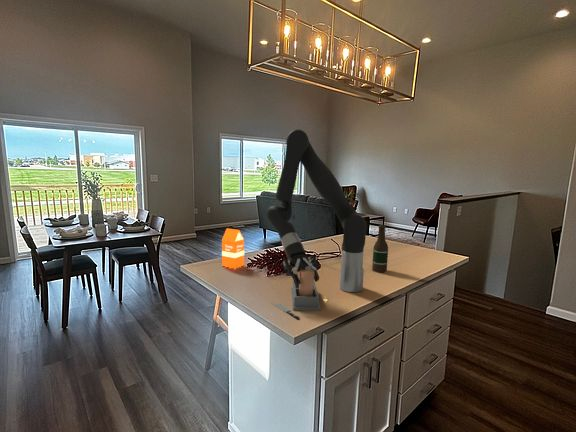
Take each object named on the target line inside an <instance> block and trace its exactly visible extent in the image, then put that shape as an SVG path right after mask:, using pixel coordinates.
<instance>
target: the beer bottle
mask: <svg viewBox="0 0 576 432" xmlns="http://www.w3.org/2000/svg"><path fill="white" fill-rule="evenodd" d="M386 228H387V227H386V225H385V224H383V225H382V224H379V225H378V234H377V240H376V241H375V242H374V245H373V250H372V264H371V269H372V271H373V272H374V273H379V274H384V273H386V272H387V269H388V257H389V256H388V255H389V246H388V245H389V244H388V242H387V241H386Z"/></svg>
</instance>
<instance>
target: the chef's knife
mask: <svg viewBox="0 0 576 432" xmlns="http://www.w3.org/2000/svg"><path fill="white" fill-rule="evenodd" d="M271 304H272V305H274V306H275V307H277V308H278V310H282V311H283V312H284V313H286V314H287V315H289V316H291V317H292V318H295V319H296V320H300V317H299V316H298V315H295V314H293V312H292V310H293V309H292V310H291V309H290V308H288V307H286V306H284V305H282V304H279V303H276V302H271Z"/></svg>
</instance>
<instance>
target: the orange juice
mask: <svg viewBox="0 0 576 432" xmlns="http://www.w3.org/2000/svg"><path fill="white" fill-rule="evenodd" d="M221 257H222V258H221V260H222V261H221V262H222V263H221V264H222V265H221V267H222V266H225V267H224V268H226V267H229V268H228V269H231V268H234V269H233V270H237V269H236V268H238V267H240V268H242V267H241V266H243V265H244V266H245V239H244V237H243V234H242V233H241V231H240V229H234V228H228V227H227V228H226V229H225V232H224V233H223V237H222V239H221ZM244 266H243V267H244ZM238 269H239V268H238Z"/></svg>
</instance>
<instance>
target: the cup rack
mask: <svg viewBox="0 0 576 432" xmlns="http://www.w3.org/2000/svg"><path fill="white" fill-rule="evenodd" d="M291 297H292V298H291V301H292V310H293V311H317V312H318V311H321V305H320V296H319V292H318V289H317V286H316V282H315V281H314V286H313V297H311V296H299V285H296V284H295V283H294V280H292V287H291Z"/></svg>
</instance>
